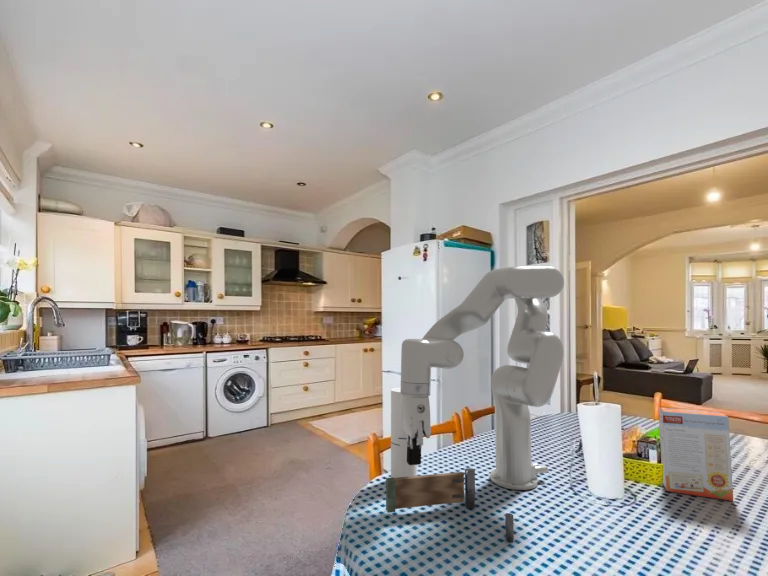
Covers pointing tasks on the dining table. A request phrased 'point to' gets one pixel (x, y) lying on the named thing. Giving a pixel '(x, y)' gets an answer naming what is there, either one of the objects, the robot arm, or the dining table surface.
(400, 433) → the cylindrical container
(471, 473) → the hinge post
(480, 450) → the dining table surface
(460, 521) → the dining table surface
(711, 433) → the cracker box
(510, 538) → the post
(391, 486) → the wooden plank on edge
